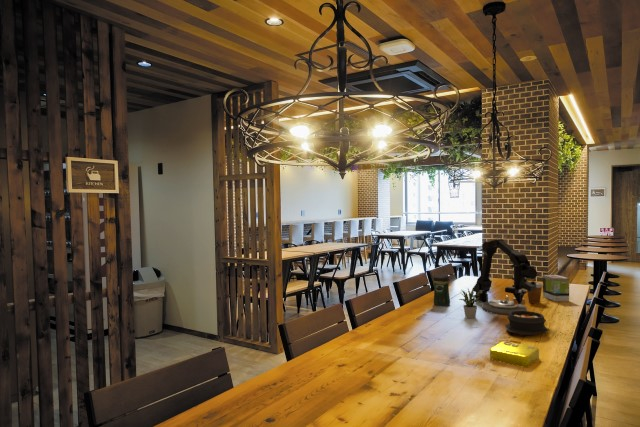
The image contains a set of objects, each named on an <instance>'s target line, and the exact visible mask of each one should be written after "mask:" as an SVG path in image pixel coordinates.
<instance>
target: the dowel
mask: <svg viewBox="0 0 640 427" xmlns="http://www.w3.org/2000/svg"><path fill="white" fill-rule="evenodd" d="M504 297H505V299H504V300H508V301H510V296H509V294H508V295H507V294H506V295H505V296H504Z"/></svg>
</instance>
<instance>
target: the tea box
mask: <svg viewBox="0 0 640 427" xmlns="http://www.w3.org/2000/svg"><path fill="white" fill-rule="evenodd" d="M542 297H543V298H546V299H547V300H551V301H553V302H569V301H570V278H569V277H567V276H566V277H565V276H562V275H559V274H543V275H542Z"/></svg>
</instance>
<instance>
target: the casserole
mask: <svg viewBox="0 0 640 427" xmlns="http://www.w3.org/2000/svg"><path fill="white" fill-rule="evenodd" d="M506 318H507V320H508V322H509V323H506V325H505V328H506V329H507V331H508V332H509V333H513V334H518V335H522V336H523V335H524V336H534V335H539V334H543V333H546V332H548V331H549V328H547V327H546V325H545V323H546V322H547V319H546V318H545V317H544V315H543V314H541V313H538V312H535V311H528V310H527V311H513V312H510V313H509V315H507V316H506Z"/></svg>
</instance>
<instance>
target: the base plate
mask: <svg viewBox="0 0 640 427" xmlns="http://www.w3.org/2000/svg"><path fill="white" fill-rule="evenodd" d="M489 302H490V301H489ZM489 302H488V301H487V302H483V303H482V305H481V308H482V311H484V310H485V311H484V312H487V311H488V312H487V313H490V312H492V313H491V314H496V313H497V314H496V315H507V316H509V313H510V312H513V311H528V307H527V306H525V304H519V307H518V308H514V309H503V308H495V307H492V306H490V305H489Z"/></svg>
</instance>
